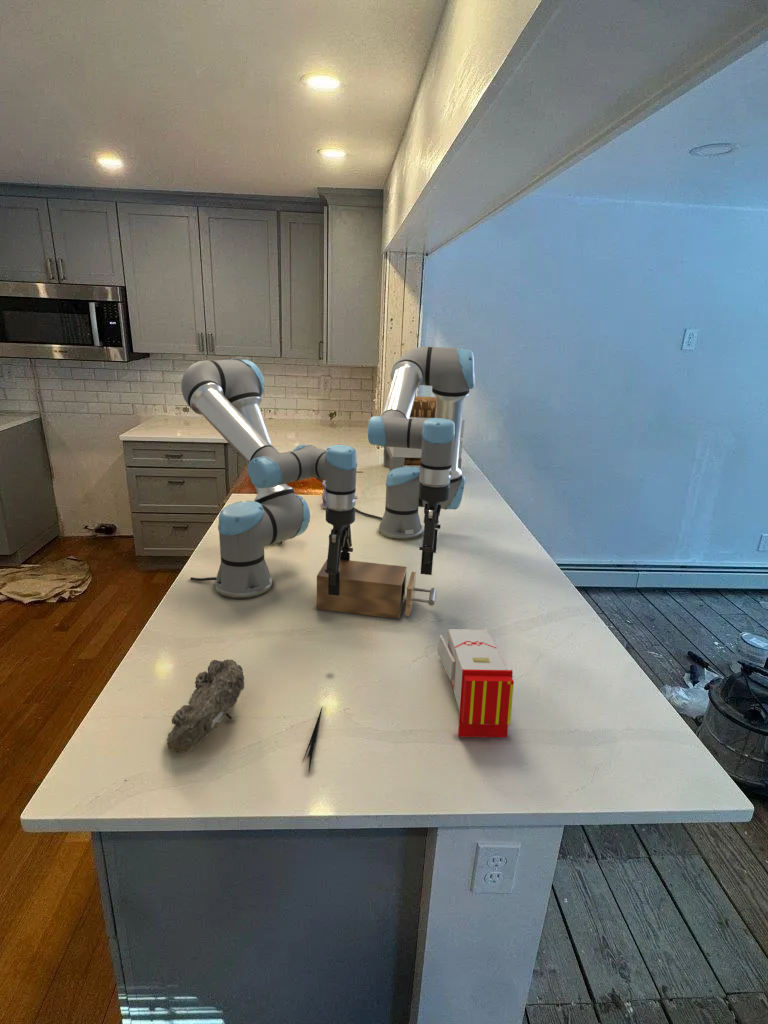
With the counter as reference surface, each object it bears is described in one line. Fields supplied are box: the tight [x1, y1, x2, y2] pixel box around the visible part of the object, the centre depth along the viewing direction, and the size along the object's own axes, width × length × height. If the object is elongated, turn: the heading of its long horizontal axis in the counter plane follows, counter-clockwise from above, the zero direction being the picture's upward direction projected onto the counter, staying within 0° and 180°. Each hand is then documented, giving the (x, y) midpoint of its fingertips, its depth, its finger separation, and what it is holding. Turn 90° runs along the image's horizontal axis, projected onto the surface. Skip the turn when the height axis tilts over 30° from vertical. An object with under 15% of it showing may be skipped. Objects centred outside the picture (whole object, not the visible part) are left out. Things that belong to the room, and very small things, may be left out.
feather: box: [301, 673, 332, 771], centre depth 108 cm, size 2×28×2 cm
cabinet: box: [316, 559, 408, 620], centre depth 150 cm, size 22×11×10 cm, turn 81°
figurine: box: [321, 480, 327, 510], centre depth 222 cm, size 9×10×15 cm
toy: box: [437, 628, 515, 738], centre depth 117 cm, size 12×13×30 cm
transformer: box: [383, 396, 465, 472], centre depth 268 cm, size 34×33×41 cm
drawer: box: [400, 571, 437, 617], centre depth 149 cm, size 26×10×8 cm, turn 81°
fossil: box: [166, 658, 245, 754], centre depth 106 cm, size 22×10×15 cm
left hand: (339, 584), depth 151 cm, fingers closed on cabinet, 11 cm apart
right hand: (428, 562), depth 145 cm, fingers open, 13 cm apart
